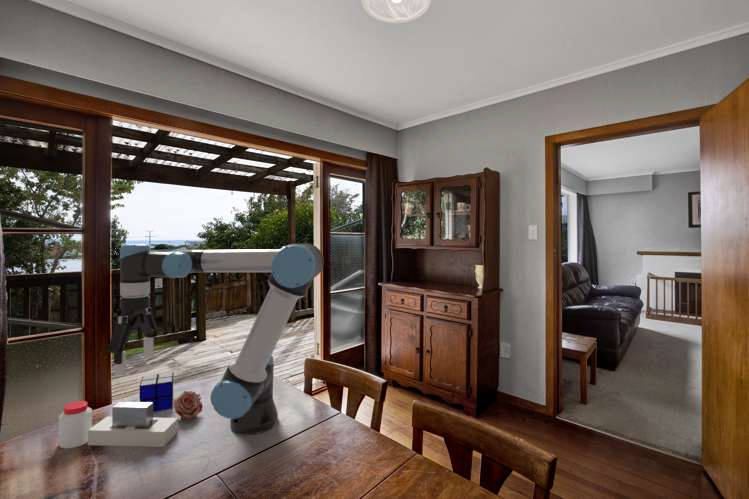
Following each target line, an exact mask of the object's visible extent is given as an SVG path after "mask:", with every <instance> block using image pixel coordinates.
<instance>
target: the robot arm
mask: <svg viewBox="0 0 749 499" xmlns="http://www.w3.org/2000/svg"><path fill="white" fill-rule="evenodd" d="M119 251H120V253H119V258H118V261H119V275H120V279H119V295H120V298H119V310H120V311H123V316H120V315H119V316H118V315H117V316H116V317H115V322H114V327H113V331H112V333H111V337H110V341H109V343H108V347H107V353H113V364H114V368H113V370H114V375H115V376H120V375H121V376H125V375H126V374H127V371H126V370H127V366H126V365H127V364H126V363H127V356H126V355H127V351H125V349H126V346H127V344H128V342H129V340H130V338H131V335H132V333H133V331H135V330H136V329H137V328H138V327H139V329H140V330H141V332H142V333H143V334H144V336H145V337H143V359H153V358H154V353H155V352H154V349H155V348H154V346H155V345H154V338H155V337H156V338H157V337H158V333H159V328H158V325H157V322H156V319H155V317H154V313H153V311H154V310H153V307H150V306H151V297H150V294H151V281H150V280H151V278H153V277H154V278H155V277H156V278H170V279H176V278H177V279H179V278H186V277H187V276H188V275H189V274H193V273H194V274H195V273H201V274H202V273H269V274H270V275H269V277H268V279H267V283H268V285H269V290H268V291H267V295H266V296H265V299H263V303H262V305H261V307H260V309H259V311H258V313H257V316H256V317H255V320H254V322H253V323H252V326H251V329H250V330H249V333H248V335H247V337H246V338H245V341H244V343H243V345H242V348H241V350H240V352H239V354H238V356H237V358H235V359H232V360H231V361H229V363H228V366H227V368H226V370H225V372H224V374H223V376H222V379H221V380H220V381H219V382H218V383H217V384H215V385H214V387H213V388H212V391H211V392H210V403H211V405H212V407H213V409H214V411H215V412H216V413H217V414H218V415H219V416H221V417H223V418H224V419H228V420H229V419H230V423H229V424H230V428H231V430H232V431H234V430H235V431H234V432H236V433H238V432H239V433H238V434H243V433H254V434H258V433H257V432H260V433H262V432H261V431H263V432H265V431H264V430H266V431H268V430H270V429H271V427H272V426H273V425H274V424H275V423H276V422H278V420H279V419H278V418H279V416H278V414H279V412H278V410H277V407H276V404H275V399H274V397H273V396H274V366H275V363H274V357H273V353H274V350H275V348H276V346H277V344H278V342H279V340H280V338H281V335H282V333H284V329H285V328H286V325H287V323H288V321H289V318H290V317H291V314H292V312H293V311H294V308H295V305H297V304H296V303H297V302H298V300H299V299H302V298H304V297H306V295H307V293H308V291H309V289H310V287H311V285H312V283H313V280H314V279H315V278H316V277H317V276H318V275H320V274H321V272H322V270H323V268H324V263H325V260H324V256H323V253H322V251H321V250H320V249H319V248H318V247H317V246H316V245H314V244H312V243H306V242H303V243H291V244H287V245H284V246H282V247H281V248H279V249H278V248H277V249H276V248H274V249H273V248H272V249H271V248H269V249H268V248H267V249H262V248H259V249H258V248H257V249H252V248H251V249H250V248H249V249H199V248H198V249H197V248H195V249H187V250H176V251H174V250H173V251H152V250H151V247H150V245H149V244H144V243H126V244H122V245H121V246H120V250H119ZM276 424H277V423H276ZM276 424H275V425H276ZM275 425H274V426H275ZM274 426H273V427H274ZM273 427H272V428H273ZM269 428H270V429H269ZM267 429H268V430H267Z"/></svg>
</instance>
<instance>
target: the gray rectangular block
mask: <svg viewBox="0 0 749 499" xmlns="http://www.w3.org/2000/svg"><path fill="white" fill-rule="evenodd" d="M111 410H112V412H111V414H112V415H111V417H112V427H113V428H115V429H125V428H126V427H137V429H149V428H150V427H151V426H152V422H153V418H154V412H153V402H140V401H119V402H118V403H116V404H115V405H113V406H112V409H111Z"/></svg>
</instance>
